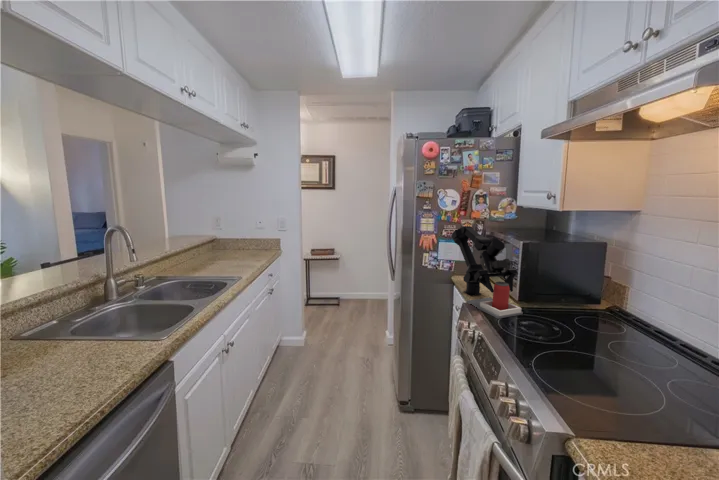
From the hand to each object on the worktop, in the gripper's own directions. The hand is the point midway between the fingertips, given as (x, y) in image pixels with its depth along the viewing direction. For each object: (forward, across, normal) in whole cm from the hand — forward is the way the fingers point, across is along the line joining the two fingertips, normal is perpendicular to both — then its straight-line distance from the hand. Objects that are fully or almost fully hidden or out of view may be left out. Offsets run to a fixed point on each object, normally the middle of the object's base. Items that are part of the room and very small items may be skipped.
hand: (502, 291), depth 141 cm
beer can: (+6, 0, +7) cm, 9 cm away
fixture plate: (+3, -1, +10) cm, 10 cm away
